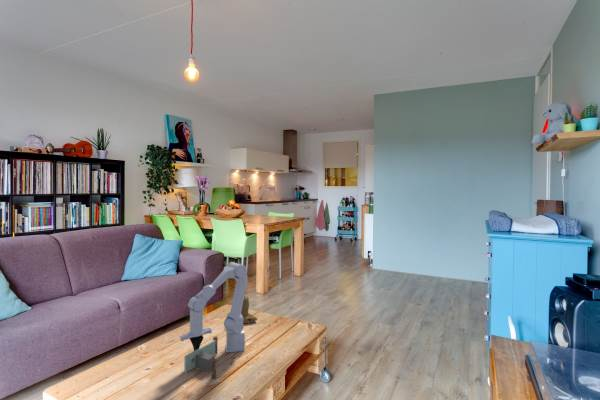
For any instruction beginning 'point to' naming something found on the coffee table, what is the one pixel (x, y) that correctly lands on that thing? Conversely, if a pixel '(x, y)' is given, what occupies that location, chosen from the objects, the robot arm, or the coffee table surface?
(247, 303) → the brown boot
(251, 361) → the coffee table surface
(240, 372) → the coffee table surface
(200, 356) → the block
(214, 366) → the door frame
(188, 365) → the door
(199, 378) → the coffee table surface
